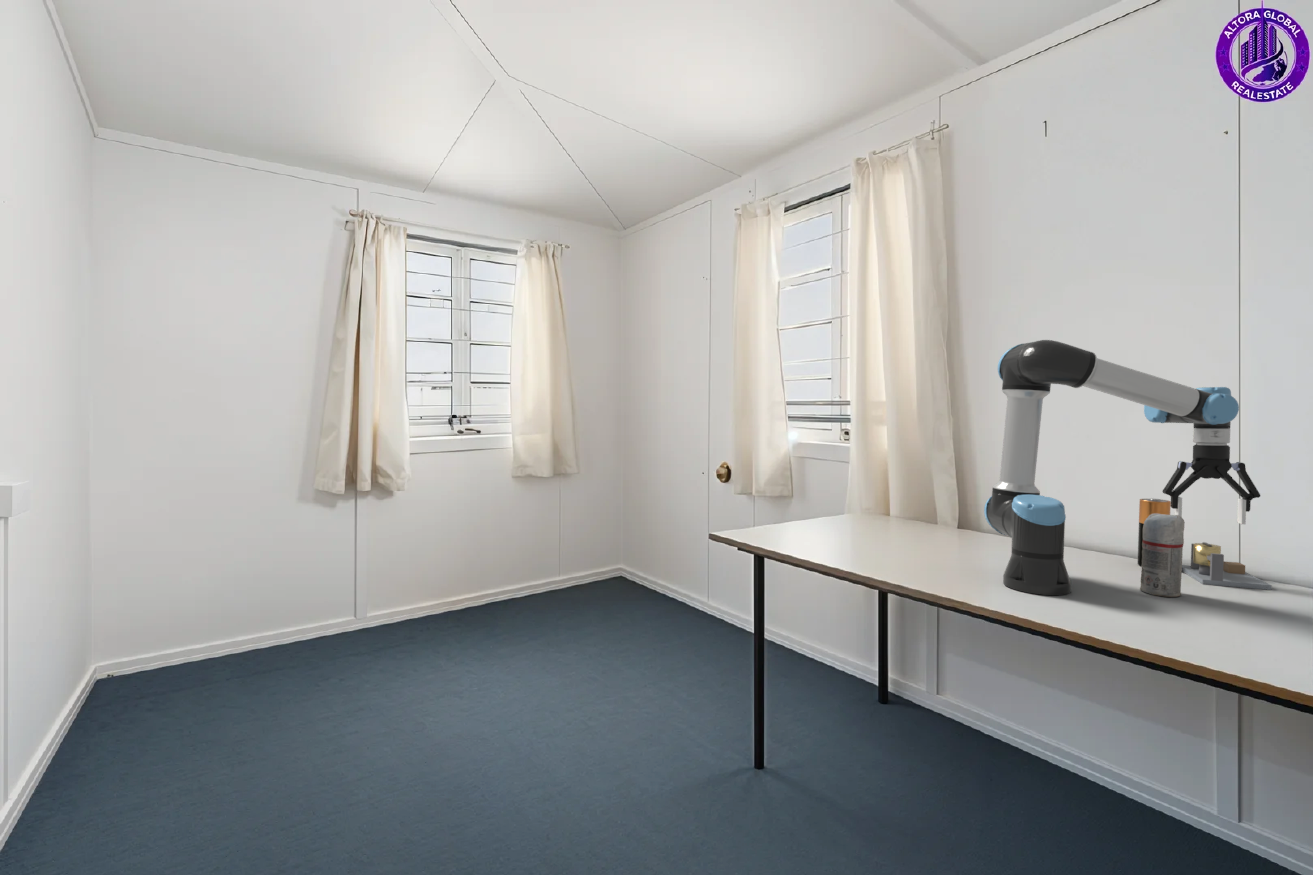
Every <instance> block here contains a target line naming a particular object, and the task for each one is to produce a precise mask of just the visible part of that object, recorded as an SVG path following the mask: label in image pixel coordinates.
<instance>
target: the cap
mask: <svg viewBox="0 0 1313 875" xmlns="http://www.w3.org/2000/svg"><path fill="white" fill-rule="evenodd" d="M1193 544H1194V550H1193V562H1194V563H1196V564H1201V565H1208V566H1210V561H1209V560H1208V559H1207V556H1211V553H1215V554H1222V546H1220V545H1218V544H1214V543H1213V544H1212V543H1208V542H1205V541H1203V542H1194V543H1193Z"/></svg>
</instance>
